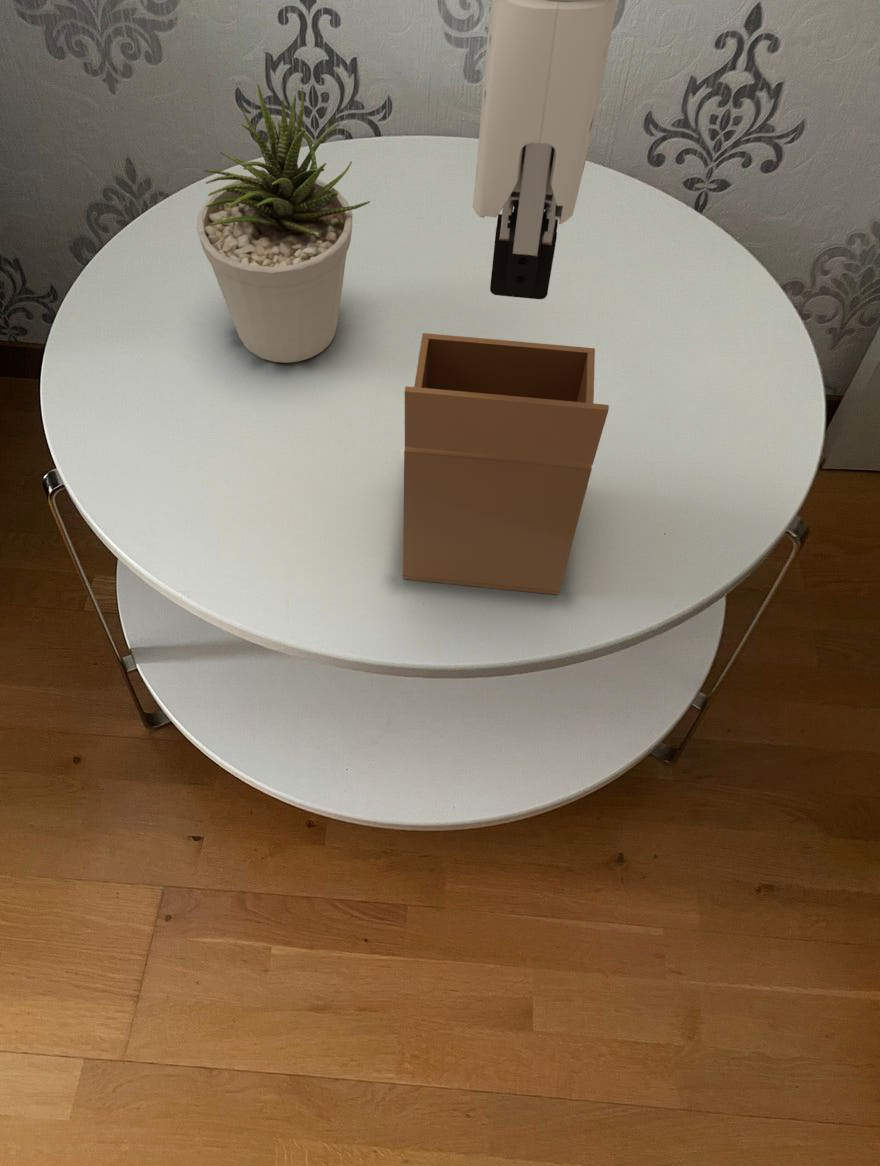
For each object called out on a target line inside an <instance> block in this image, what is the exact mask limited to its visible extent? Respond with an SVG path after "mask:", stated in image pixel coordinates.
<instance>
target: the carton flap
mask: <svg viewBox="0 0 880 1166" xmlns="http://www.w3.org/2000/svg"><path fill="white" fill-rule="evenodd" d="M609 405H610V404H603V403H594V402H593V403H582V402H571V401H561V400H550V399H539V398H528V397H517V396H506V395H495V394H484V393H473V392H462V391H451V390H440V389H430V388H419V387H414V386H408V385H407V386H405V387H404V448H405V447H412V448H422V449H433V450H443V451H454V452H464V453H475V454H485V455H496V456H506V457H517V458H527V459H538V460H548V461H559V462H569V463H580V464H590V465H592V466H593V465H594V463H595V459H596V455H597V452H598V449H599V448H598V447H599V443H600V442H601V438H602V434H603V431H604V428H605V423H606V421H607V417H608V413H609V410H610V409H609V408H610V406H609Z"/></svg>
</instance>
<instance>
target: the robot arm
mask: <svg viewBox="0 0 880 1166" xmlns="http://www.w3.org/2000/svg"><path fill="white" fill-rule="evenodd" d="M617 7H618V0H491V4H490V12H489V21H488V29H487V39H486V49H485V60H484V71H483V72H484V73H483V83H482V94H481V96H482V97H481V106H480V107H481V109H480V121H479V132H478V144H477V146H478V147H477V156H476V166H475V168H476V169H475V177H474V178H475V179H474V188H473V199H472V208H473V210H474V212H475V213H476V215H477V216H478V217H479V218H483V219H484V218H485V217H488V218H495V219H496V218H497V221H496V227H495V235H494V245H493V256H492V265H491V275H490V286H489V291H490V293H491V294H492V295H494V296H501V297H510V298H520V299H532V300H545V299H546V298H547V296H548V293H549V286H550V280H551V276H552V275H551V274H552V270H553V262H554V257H555V249H556V243H557V239H558V237H557V236H558V232H557V231H558V225H562V224H564V223H565V222H567V221H569V219H571V217H573V215H574V211H575V207H576V204H577V203H576V202H577V200H578V195H579V191H580V188H581V183H582V179H583V174H584V170H585V166H586V161H587V157H588V152H589V147H590V143H591V139H592V134H593V131H594V130H593V129H594V125H595V121H596V115H597V110H598V106H599V101H600V96H601V91H602V86H603V81H604V76H605V70H606V64H607V60H608V55H609V50H610V44H611V39H612V35H613V28H614V22H615V18H616V12H617Z"/></svg>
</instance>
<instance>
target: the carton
mask: <svg viewBox="0 0 880 1166" xmlns="http://www.w3.org/2000/svg"><path fill="white" fill-rule="evenodd" d="M595 357H596V349H595V347H586V346H583V347H582V346H573V345H563V344H552V343H542V342H541V343H540V342H530V341H529V342H528V341H517V340H506V339H496V338H495V339H493V338H483V337H472V336H471V337H470V336H461V335H449V334H438V333H428V332H427V333H426V332H423V333H422V334H421V340H420V347H419V354H418V361H417V366H416V372H415V373H416V374H415V379H414V386H413V387H419V388H430V389H440V390H451V391H462V392H473V393H484V394H495V395H506V396H517V397H528V398H539V399H550V400H561V401H571V402H582V403H593V404H594V401H595V400H594V398H595V360H596V358H595ZM403 450H404V451H403V507H402V508H403V509H402V510H403V511H402V513H403V515H402V529H403V530H402V580H408V581H409V580H411V581H421V582H428V583H429V582H430V583H438V584H447V585H457V586H468V587H477V588H486V589H495V590H506V591H515V592H516V591H518V592H524V593H525V592H526V593H536V594H537V593H538V594H546V595H554V596H555V595H556V596H559V595H560V593H561V588H562V585H563V584H562V583H563V581H564V576H565V573H566V570H567V566H568V561H569V557H570V554H571V550H572V546H573V543H574V538H575V535H576V531H577V527H578V523H579V521H580V520H579V519H580V516H581V511H582V508H583V505H584V501H585V496H586V493H587V489H588V485H589V481H590V477H591V474H592V469H593V465H590V464H580V463H569V462H559V461H548V460H538V459H527V458H517V457H506V456H496V455H485V454H475V453H464V452H454V451H443V450H433V449H422V448H412V447H405V446H404V449H403Z"/></svg>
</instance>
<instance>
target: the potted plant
mask: <svg viewBox="0 0 880 1166" xmlns="http://www.w3.org/2000/svg"><path fill="white" fill-rule="evenodd" d="M256 85H257V91H258V97H259V102H260V108H261V111H262V115H263V121H264V125H265V129H266V134H267V138H268V143H269V146H268V144H267V143H266V142H265V141H264V139H263V138H262V137H261V136H260V134H259V133H258V131H257V130H256V129H255V127H254V125H253V123H251V121H250V119H249V117H248V116H247V114H246V112H245V111H244V109H243V108H242V107H240V111H241V112H242V115H243V117H244V119H245V122H246V123H247V125H248V126H247V125H245V124H243V123H240V126H242V127H243V128H244V129H246V130H247V131H248V132H250V133H251V134H252V136H253V138H254V140H255V142H256V143H257V145H258V148H259V150H260V152H261V155H262V157H263V161H264V162H262V161H247V162H245V161H243V160H240V159H238V158H236V157H234V156H231V155H229V154H227V153H224V152H222V151H220V152H219V153H220V154H221V155H222V156H225V157H226V158H228V159H230V160H232V161H233V162H235V163H237V164H238V165H240V166H241V167H243V168H242V170H247V171H248V172H249V173H250V174H251V175H248V176H247V175H242V174H236V173H232V172H228V171H222V170H217V169H215V170H214V169H203V172H206V173H212V174H213V173H214V174H218V175H223V176H218V177H217V176H216V177H215V178H212V179H210V180H207V181H206V182H205V185H206V184H210V183H214V182H217V181H228V180H230V181H232V182H229V183H228V184H226V185H224V186H223V187H221V188H218V189H216V190H214V191H212V192H210V193H208V194H207V197H208V199H207V200H206V201H205V202H204V204H203V205H202V206H201V208H200V211H199V213H198V215H197V220H196V231H197V235H198V239H199V242H200V245H201V247H202V250H203V253H204V254H205V257H206V259H207V260H208V262H209V264H210V266H211V268H212V271H213V273H214V275H215V278H216V281H217V283H218V286H219V289H220V291H221V294H222V297H223V299H224V302H225V304H226V308H227V310H228V313H229V315H230V317H231V320H232V322H233V325H234V327H235V330H236V333H237V334H238V337H239V339H240V341H241V342H242V344H243V345H244V347H245V348H246V349H247V350H248V351H249V352H250V353H252V354H254V355H255V356H257V357H258V358H260V359H262V360H266V361H270V362H274V363H283V364H286V363H296V362H297V363H299V362H302V361H305V360H308V359H311V358H313V357H314V356H317V355H319V354H320V353H322V352H323V351H324V350H325V349H327V348H328V346H330V344H331V343H332V341H333V339H334V338H335V335H336V332H337V328H338V324H339V323H338V322H339V316H340V307H341V300H342V292H343V285H344V276H345V270H346V262H347V255H348V254H347V253H348V251H349V248H350V245H351V241H352V232H353V212H352V210H357V209H359V208H361V207H364V206H366V205H368V204H370V202H371V200H368V201H364V202H361V203H358V204H355V205H350V203H349V202H348V201H347V199H346V198H345V197H344V196H343V195H342V194H341V193H340V192H339V191H338V189H336V188H334V186H335V185H336V184H337V183H339V181H340V180H341V179H342V178H343V177H344V176H345V175H346V174H347V172H348V171H349V169H350V167H351V165H352V163H353V161H350V162H349V164H348V165H347V167H346V168H345V170H344V171H343V172H341V173H340V174H339V175H338V176H337V177H335V178H334V179H332V180H331V181H330V182H329V183H326V182H324V181H323V180H321V179H319V178H318V177H319V176H320V175H321V173H322V172H324V171H325V166H326V165H327V162H324V163H323V164H322V165H320V166H319V167H318V165H317V157H316V152H317V149H318V148H319V147H320V146H321V144H322V143H323V142H324V140H325V139H326V137H328V136H329V135H330V134H331V133H332V132H333V131H334V130H335V129H336V128H337V127H339V126H340V123H337V124H335V125H333V126H332V127H330V128H329V129H328V130H327V131H325V132H324V133H323V135H321V136H320V137H319V138H318V139H317V140H316V142H315V143H314V144H313V143H312V141H311V139H310V138H309V135H308V134H307V133H306V130H305V129H304V128H302V127H303V119H304V112H305V95H304V88H303V87H301V101H300V107H299V112H298V117H297V122H296V110H297V109H296V106H297V105H296V104H297V94H294V96H293V100H292V101H291V112H290V116H289V122H288V121H287V120H288V119H287V114H286V106H285V99H284V98H283V99H282V100H281V118H280V119H281V120H280V121H278V122H277V126H276V124H275V122H274V120H273V118H272V116H271V114H270V112H269V110H268V108H267V104H266V101H265V99H264V96H263V93H262V90H261V87H260V84H259V83H258V82H257V83H256ZM277 128H278V130H277ZM303 138H305V140H306V142H307V146H308V150H309V152H308V153H307V155H306V156H305V158H304V159H303V161H302V162H301V164H300V166H299V165H298V162H299V155H300V152H301V147H302V143H303ZM310 163H311V164H310ZM255 166H256V167H260V168H262V169H258V168H256V167H255ZM309 166H310V167H309ZM308 168H309V169H308Z"/></svg>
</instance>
